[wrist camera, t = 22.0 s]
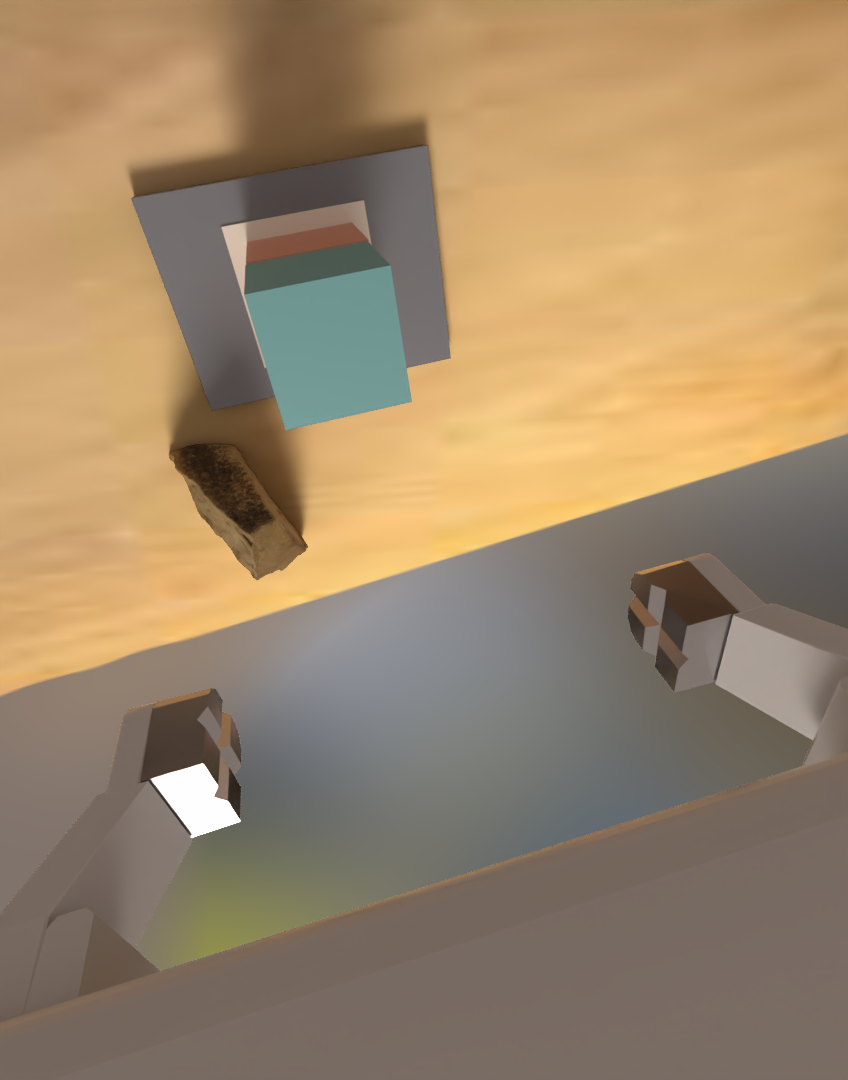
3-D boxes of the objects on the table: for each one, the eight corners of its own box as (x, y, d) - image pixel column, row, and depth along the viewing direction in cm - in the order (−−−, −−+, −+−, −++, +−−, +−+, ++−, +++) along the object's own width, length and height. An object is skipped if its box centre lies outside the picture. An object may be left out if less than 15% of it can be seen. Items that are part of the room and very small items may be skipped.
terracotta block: (351, 222, 33) (368, 239, 29) (371, 328, 37) (388, 359, 32) (246, 241, 33) (245, 262, 28) (276, 347, 36) (280, 382, 32)
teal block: (367, 241, 29) (390, 265, 24) (388, 360, 32) (411, 401, 28) (245, 264, 28) (244, 294, 23) (280, 383, 32) (285, 430, 27)
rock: (344, 562, 46) (336, 456, 39) (281, 643, 40) (259, 535, 33) (229, 521, 49) (203, 415, 42) (155, 591, 43) (110, 482, 36)
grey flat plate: (423, 144, 33) (428, 145, 32) (446, 353, 40) (450, 358, 39) (134, 196, 31) (130, 198, 30) (212, 404, 39) (211, 411, 38)
